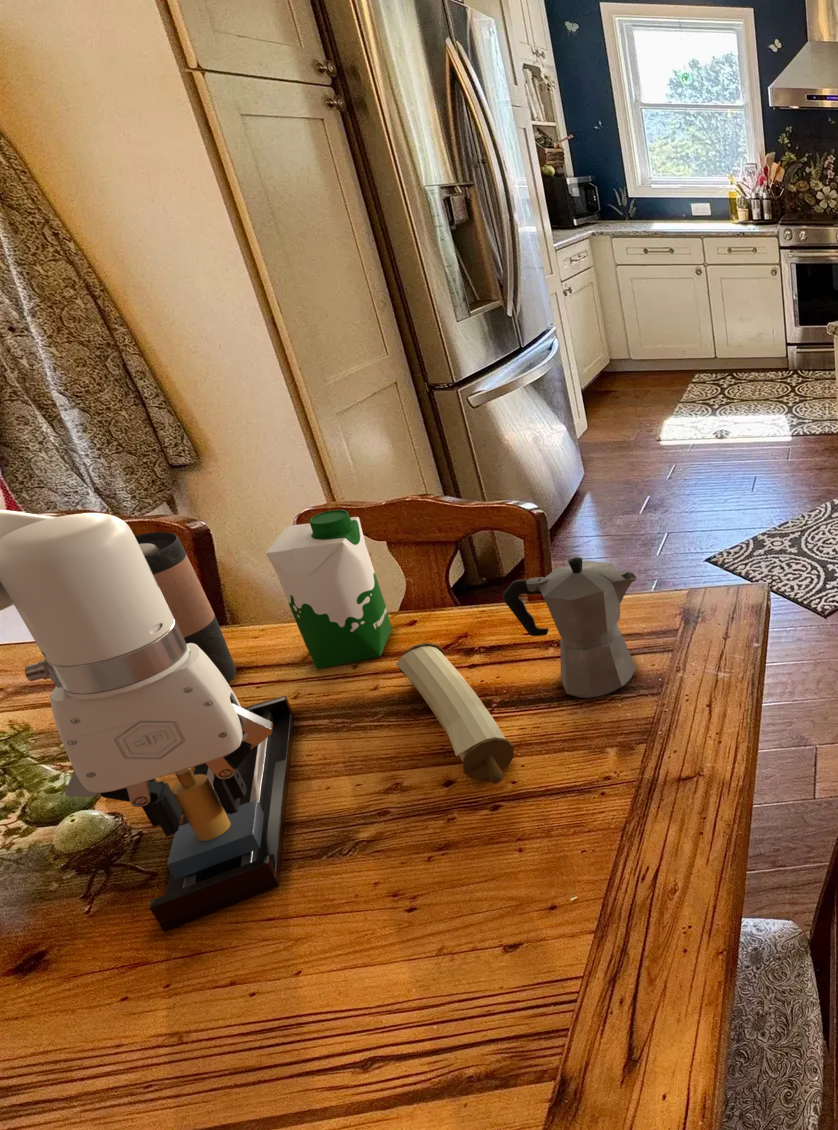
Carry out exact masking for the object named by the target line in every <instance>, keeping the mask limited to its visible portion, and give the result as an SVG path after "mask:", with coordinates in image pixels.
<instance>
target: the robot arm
mask: <svg viewBox="0 0 838 1130" xmlns="http://www.w3.org/2000/svg"><path fill="white" fill-rule="evenodd" d="M12 606H14V607H15V609H16V611H17V613H18V614H19V616H20V618H21V619H22V621H23V623H24V624H25V626H26V628H27V630H28V632H29V633H30V635H31V636H32V638H33V641H34V642H35V644H36V645H37V647H38V649H39V650H40V652H41V654H42V655H43V657H44V659H42V660H38V662H37V663H32V664H28V665H26V666H25V667H24V675H25V678H26V679H27V680H28V681H29V682H36V681H39V680H51V681H52V682H54V684H55V687H54V689H53V690H52V692H50V694H49V699H50V700H49V701H50V706H51V711H52V715H53V718H54V722H55V725H56V729H57V732H58V734H59V738H60V740H61V742H62V746H63V749H64V750H65V753H66V755H67V757H68V760H69V762H70V764H71V767H72V769H73V772H72V774H71V777H70V778H69V782H68V783H67V786H66V788H65V790H64V795H65V796H67V797H70V798H92V797H93V798H96V797H97V796H98V797H102V798H103V799H109V800H116V801H121V802H129V803H130V806H132V807H135V808H142V810H143V812H144V813H145V815H146V817H147V819H148V820H149V823H150V824H151V825H152V827H154V828H155V827H158V826H160V828H161V830H162V831H163V833H164V835H165V836H166V837H169V836H172V835H174V834H175V833H176V832H177V831H178V828H179V826H180V823H181V820H182V815H183V811H182V810H181V808H180V806H179V804H178V802H177V800H176V798H175V797H174V795H173V793H172V789H171V787H170V785H169V783H168V782H165V781H164V780H160V781H157V779H160V778H162V777H166V776H168V775H171V774H174V773H175V774H176V772H178V771H181V770H185V769H188V768H195V766H197V765H200V764H203V763H206V765H207V766H208V767H209V768H210V769H211V770H212V772H213V773H214V781H213V788H214V790H215V792H216V794H217V796H218V798H219V800H220V802H221V803H222V805H223V807H224V809H225V811H226V813H227V814H233V813H236V812H238V809H239V802H240V798H241V797H244V796H246V785H245V783H244V781H243V779H242V777H241V775H240V772H239V770H238V768H237V767H238V766H239V765H240V764H241V762H242V761H243V760H244V759H245V757H246V756H247V755H248V754H249V752H250V750H251V749H252V748H254V747H255V746H257V745H258V744H260V743H261V742H262V741H264V740H265V739H266V738H267V737H269V736H270V735H271V734H272V730H273V723H272V722H271V721H269V720H267V719H265V718H263V717H260V716H258V715H256V714H254V713H252V712H250V711H248V710H246V709H244V707H242V705H241V703H240V701H239V700H238V697H237V696H236V694H235V692H234V690H233V689H232V687H231V686H230V684H229V683H227V681H226V680H225V678H224V677H223V675H222V674H221V672H220V671H219V670H218V668H217V667H216V666H215V665H214V663H213V662H212V661H211V660H210V659H209V657H208V656H207V655H206V654H205V653H204V652H203V651H202V650H201V649H200V648H199V647H198V646H197V645H196V644H194V643H189V644H186V642H185V640H184V638H183V636H182V633H181V631H180V629H179V627H178V625H177V623H176V621H175V619H174V617H173V615H172V613H171V611H170V609H169V607H168V605H167V603H166V601H165V598H164V596H163V594H162V592H161V590H160V588H159V586H158V584H157V582H156V580H155V578H154V576H153V574H152V571H151V569H150V567H149V565H148V563H147V561H146V559H145V557H144V555H143V553H142V550H141V548H140V546H139V544H138V542H137V540H136V538H135V534H134V533H133V531H132V529H131V527H130V526H129V524H128V523H127V522H126V521H124V520H123V519H121V518H120V517H118V516H116V515H113V514H108V513H103V512H102V513H101V512H84V513H83V512H82V513H74V514H67V515H61V516H52V515H51V516H50V515H44V514H36V513H30V512H22V511H16V510H8V509H7V510H6V509H0V612H1V611H2V610H5V609H8V608H9V607H12ZM242 731H243V732H245V733H244V735H243V733H242ZM222 734H223V735H222Z"/></svg>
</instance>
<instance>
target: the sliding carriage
mask: <svg viewBox="0 0 838 1130" xmlns="http://www.w3.org/2000/svg"><path fill="white" fill-rule="evenodd" d="M191 768H192V767H191ZM191 768H188V769H185V770H181V771H178V772H175V776H176V778H177V780H178V782H177V783H176V784H175V785H174V786H173V787H172V789H171V791H172V793H173V795H174V797H175V798H176V800H177V802H178V804H179V806H180V808H181V810H182V814H183V816H184V815H185V817H186V819H187V821H188V822H189V823H188V824H185V825H182V824H181V825H179V828H178V831H177V832H176V833H175V834H173V839H172V843H171V846H170V849H169V850H170V851H169V855H168V859H167V864H166V866H167V868H168V870H169V871H170V873H172V874H173V876H174V878H175V879H178V878H181V877H184V876H186V875H189V874H192V873H195V872H197V871H200V870H203V869H205V868H208V867H211V866H214V865H216V864H219V863H222V862H224V861H227V860H230V859H232V858H235V857H238V856H241V855H243V854H246V853H249V852H251V851H254V850H257V849H259V848H260V844H261V836H262V828H263V819H264V812H263V810H262V808H261V806H260V804H259V802H258V800H255V801H252V802H249V803H246V804H243V805H240V806H239V809H238V812H236V813H233V814H227V813H226V811H224V809H223V807H222V805H221V803H220V801H219V799H218V797H217V795H216V793H215V791H214V789H213V787H212V785H211V783H210V781H209V779H208V777H207V776H206V775H204V774H197V775H194V771H192V769H191Z"/></svg>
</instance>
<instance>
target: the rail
mask: <svg viewBox="0 0 838 1130" xmlns="http://www.w3.org/2000/svg"><path fill="white" fill-rule="evenodd" d="M243 708H244V709H246V710H248V711H250V712H252V713H254V714H256V715H258V716H260V717H263V718H265V719H267V720H269V721H271V722H272V723H273V730H272V734H271V735H270V736H269V737H267V738H266V739H265V740H264V741H262V742H261V743H260V744H258V745H257V746H255V747H254V748H252V749H251V750H250V752H249V754H248V755H247V756H246V757H245V759H244V760H243V761H242V762H241V764H240V765H239V766H238V767H237V768H238V770H239V772H240V775H241V777H242V779H243V781H244V783H245V785H246V796H244V797H241V798H240V802H239V806H240V805H243V804H246V803H249V802H252V801H255V800H258V802H259V804H260V806H261V808H262V810H263V812H264V819H263V828H262V836H261V844H260V848H259V849H257V850H254V851H251V852H249V853H246V854H243V855H241V856H238V857H235V858H232V859H230V860H227V861H224V862H222V863H219V864H216V865H214V866H211V867H208V868H205V869H203V870H200V871H197V872H195V873H192V874H189V875H186V876H184V877H181V878H178V879H175V878H174V876H173V874H172V873H171V872H170V874H169V877H168V882H167V887H166V891H165V894H163V895H161V896H158V897H155V898H153V899H151V900H150V904H149V911H150V912H151V914H152V915H153V916H154V918H155V920H156V921H157V923H158V925H159V926H160V928H161V929H162V931H163V932H167V931H170V930H172V929H175V928H177V927H180V926H183V925H185V924H187V923H190V922H192V921H195V920H197V919H201V918H203V917H205V916H208V915H210V914H213V913H215V912H218V911H221V910H222V909H225V908H227V907H230V906H233V905H236V904H238V903H241V902H243V901H246V900H248V899H250V898H254V897H257V896H259V895H261V894H264V893H266V892H269V891H271V890H274V889H276V888H279V887H280V883H281V872H282V871H281V870H282V859H283V848H284V838H285V825H286V817H287V816H286V815H287V803H288V793H289V781H290V771H291V770H290V769H291V759H292V747H293V738H294V737H293V736H294V725H295V714H294V712H293V709H292V707H291V704H290V702H289V699H288V697H287V695H283V696H279V697H276V698H271V699H268V700H266V701H262V702H258V703H255V704H251V705H249V706H248V705H247V706H244V707H243ZM242 733H243V735H244V733H245V732H243V731H242ZM222 735H223V734H222ZM193 774H194V775H197V774H204V775H206V776H207V777H208V779H209V781H210V783H211V785H212V787H213V781H214V773H213V772H212V770H211V769H210V768H209V767H208V766H207V765H206V763H203V764H200V765H197V766H194V771H193ZM213 789H214V788H213ZM214 791H215V790H214ZM215 793H216V792H215ZM216 795H217V794H216ZM217 797H218V796H217ZM218 799H219V798H218ZM219 801H220V800H219ZM220 803H221V802H220ZM221 805H222V803H221ZM222 807H223V805H222ZM223 809H224V807H223ZM224 811H225V809H224ZM188 823H189V822H188V821H187V819H186V817H185V815H184V814H183V817H182V822H181V826H182V825H185V824H188Z"/></svg>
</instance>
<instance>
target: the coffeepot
mask: <svg viewBox="0 0 838 1130" xmlns="http://www.w3.org/2000/svg"><path fill="white" fill-rule="evenodd" d="M567 563H568V565H564V566H560V567H557V568H555V569H554V570H552V571H551V572H550V573H548V574H547V575H546V576H545V577H544V576H540V577H529V578H528V579H517V580H513V581H512V582H511V583H510V584H509V586H508V587H507V588H506V590H504V592H503V595H502V599H503V602H504V603H505V605H506V606H507V607H508V608H509V609H510V611H511V612H512V613H513V615H514V616H515V618H516V619H517V620H518V621H519V623H520V624H521V625H522V627H523V628H524V629H525V631H526V633H527V634H528V635H529V636H530V637H543V636H547V635H548V634H549V633H548V632H549V628H548V627H545V628H543V627H542V628H541V627H538V626H537V625H536V622H535V619H534V616H533V615H532V614H531V613H530V612H528V610H527V607H526V605H525V603H524V601H523V600H522V599H521V597H520V595H542V598H543V599H544V602H545V604H546V606H547V609H548V612H549V613H550V615H551V618H552V621H553V622H554V623H553V624H554V625H555V627H556V630H557V632H558V634H559V636H560V638H561V639H560V640H559V641H560V643H559V645H560V680H561V684H562V686H563V689H564V691H565V693H566V695H569V696H572V697H576V698H583V699H589V698H590V699H591V698H598V697H602V696H605V695H609V694H610V693H613V692H615V691H617V690H619V689H621V688H622V687H624V686H625V685H626V684H627V683H628V682H629V681H630V680H631V679H632V677H633V675H634V673H635V672H636V671H637V667H636V665H635V663H634V659H633V657H632V655H631V653H630V651H629V648H628V646H627V643H626V641H625V639H624V635H623V634H622V633H623V632H622V631H621V629H620V627H619V621H620V620H621V603H622V601H623V599H624V597H625V595H626V593H627V591H628V589H629V588H630V586H631V585H632V583H634V582H635V581H637V580H638V577H637V575H636V574H635V573H634V572H630V571H628V570H622V569H621V570H620V569H616V567H615V565H614V564H613V562H604V561H595V560H588V559H587V560H583V557H581V556H574V557H571V558H569V559H568V560H567Z"/></svg>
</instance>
